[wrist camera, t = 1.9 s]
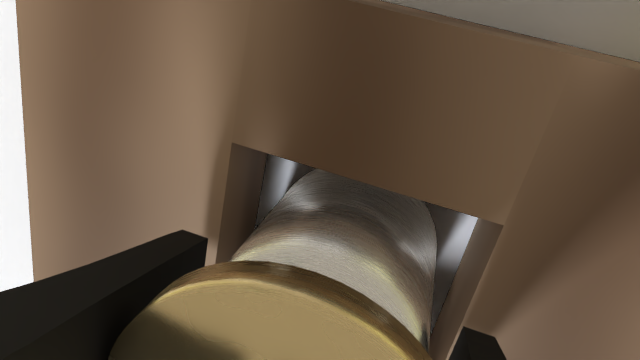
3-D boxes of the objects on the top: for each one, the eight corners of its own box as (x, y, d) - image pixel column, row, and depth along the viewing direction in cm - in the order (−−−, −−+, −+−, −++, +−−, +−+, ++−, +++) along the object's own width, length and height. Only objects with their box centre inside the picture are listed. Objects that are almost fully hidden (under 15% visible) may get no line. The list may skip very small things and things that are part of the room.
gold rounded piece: (488, 180, 11) (521, 387, 5) (421, 347, 13) (393, 623, 8) (277, 118, 12) (106, 237, 6) (247, 285, 14) (103, 488, 8)
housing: (830, 107, 9) (957, 146, 7) (564, 493, 14) (584, 589, 12) (98, -67, 11) (9, -82, 9) (96, 311, 16) (38, 361, 14)
